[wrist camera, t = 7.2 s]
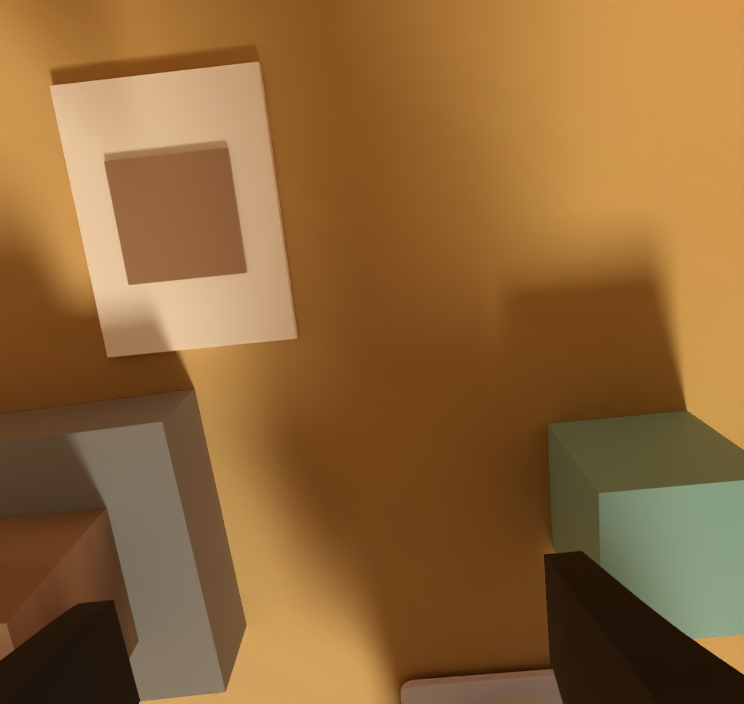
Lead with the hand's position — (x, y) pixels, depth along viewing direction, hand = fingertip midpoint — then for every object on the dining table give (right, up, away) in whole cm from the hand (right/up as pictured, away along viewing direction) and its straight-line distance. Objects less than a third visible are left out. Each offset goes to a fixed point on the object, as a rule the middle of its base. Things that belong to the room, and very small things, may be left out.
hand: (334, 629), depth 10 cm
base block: (-9, -1, +12) cm, 15 cm away
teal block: (+9, 0, +11) cm, 14 cm away
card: (-5, +9, +9) cm, 13 cm away
